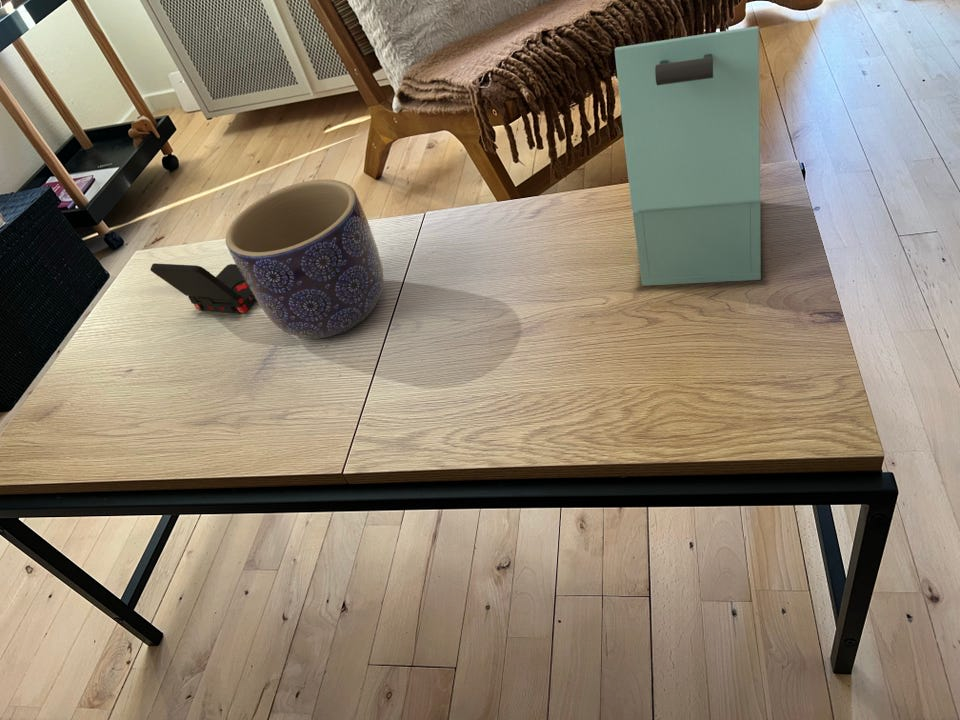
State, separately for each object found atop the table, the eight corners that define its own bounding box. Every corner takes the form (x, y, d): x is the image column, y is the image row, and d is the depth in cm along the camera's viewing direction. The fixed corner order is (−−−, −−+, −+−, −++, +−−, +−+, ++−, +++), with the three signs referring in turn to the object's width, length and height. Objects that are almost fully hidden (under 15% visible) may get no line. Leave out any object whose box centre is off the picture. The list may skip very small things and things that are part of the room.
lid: (615, 47, 75) (609, 62, 71) (758, 25, 71) (760, 40, 67) (632, 207, 84) (627, 228, 80) (760, 197, 80) (761, 218, 76)
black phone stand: (281, 274, 112) (251, 215, 106) (233, 329, 105) (198, 269, 98) (231, 271, 116) (200, 214, 110) (181, 324, 109) (145, 266, 102)
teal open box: (651, 210, 102) (643, 140, 95) (757, 201, 98) (756, 128, 91) (642, 286, 91) (632, 213, 84) (760, 279, 86) (760, 202, 80)
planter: (418, 280, 103) (382, 180, 93) (348, 363, 93) (300, 262, 83) (323, 267, 111) (282, 175, 101) (250, 343, 101) (195, 249, 92)
